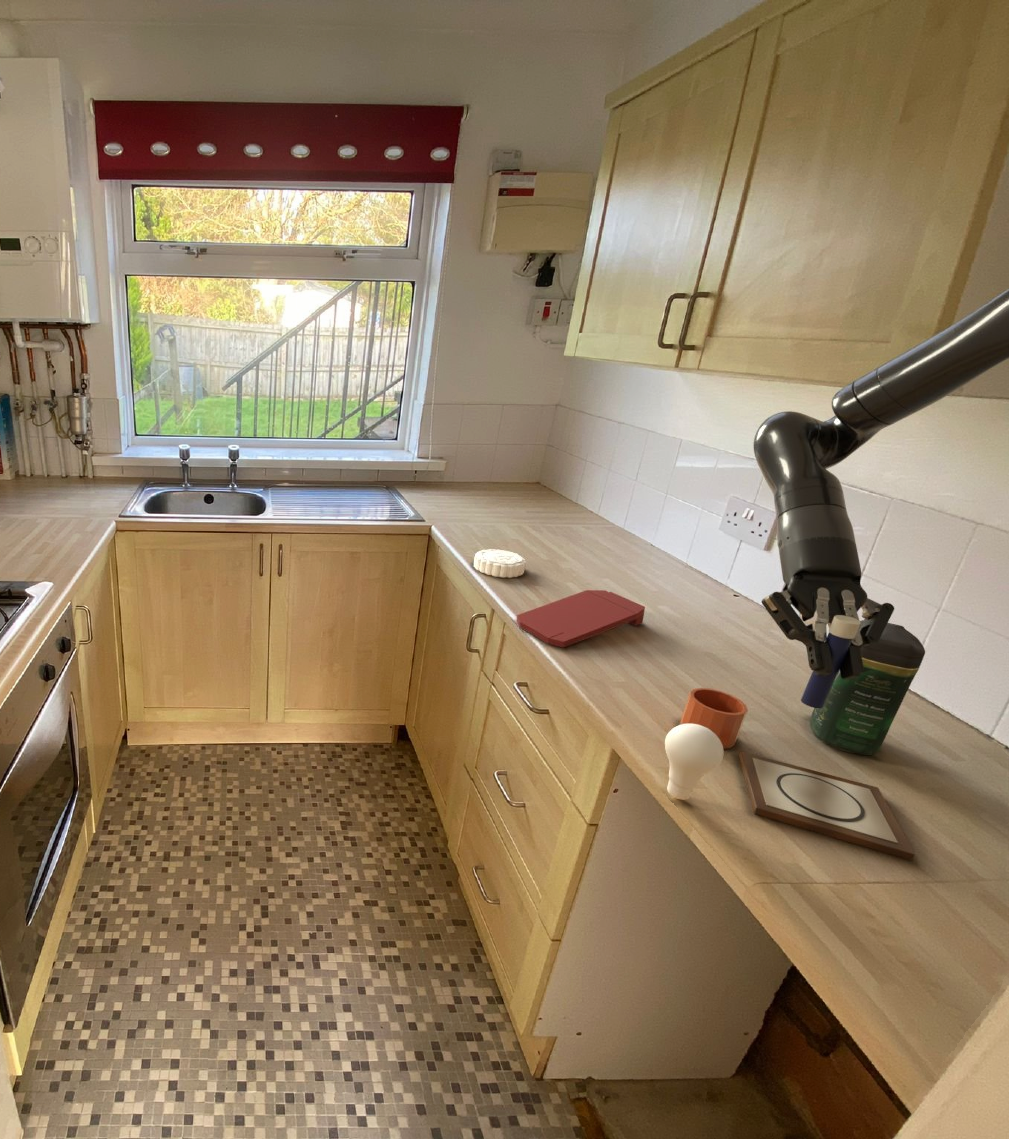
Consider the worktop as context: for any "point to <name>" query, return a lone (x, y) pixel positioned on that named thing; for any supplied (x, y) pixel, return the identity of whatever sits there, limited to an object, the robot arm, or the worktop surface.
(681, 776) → the lightbulb
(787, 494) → the robot arm
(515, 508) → the worktop surface
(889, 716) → the coffee jar
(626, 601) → the red flat slab
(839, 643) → the cylinder
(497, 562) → the mooncake
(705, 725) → the pen pot
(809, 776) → the picture frame
